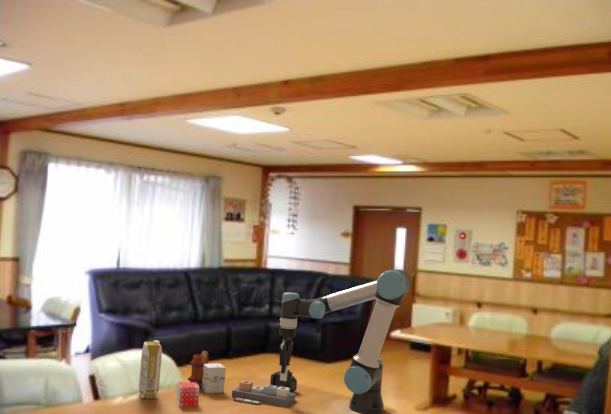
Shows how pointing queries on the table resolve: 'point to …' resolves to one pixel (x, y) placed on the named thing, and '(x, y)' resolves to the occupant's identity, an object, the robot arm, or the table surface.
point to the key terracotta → (245, 385)
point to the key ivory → (282, 391)
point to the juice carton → (150, 369)
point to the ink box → (213, 378)
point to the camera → (289, 383)
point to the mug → (198, 367)
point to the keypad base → (263, 397)
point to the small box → (187, 394)
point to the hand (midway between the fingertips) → (283, 380)
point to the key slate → (270, 389)
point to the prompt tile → (247, 401)
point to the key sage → (257, 389)
